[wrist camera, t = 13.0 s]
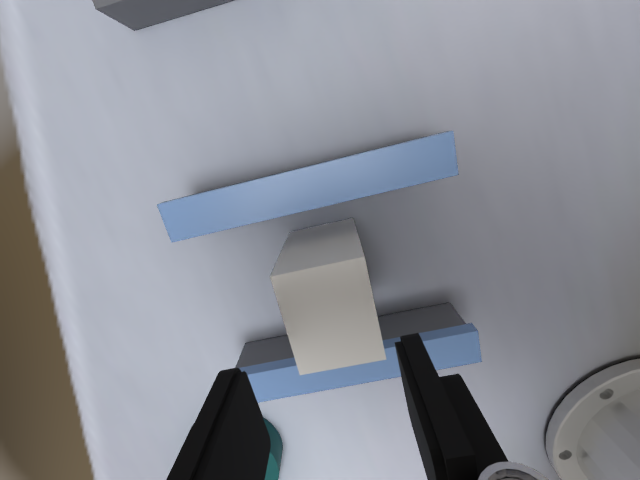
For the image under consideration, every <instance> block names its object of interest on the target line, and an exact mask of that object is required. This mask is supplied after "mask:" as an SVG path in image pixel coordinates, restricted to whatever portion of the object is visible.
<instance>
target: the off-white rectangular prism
mask: <svg viewBox="0 0 640 480" xmlns="http://www.w3.org/2000/svg"><path fill="white" fill-rule="evenodd" d="M270 279H271V282H272V285H273V289H274V292H275V295H276V298H277V302H278V305H279V308H280V312H281V315H282V318H283V322H284V325H285V328H286V331H287V335H288V338H289V341H290V345H291V348H292V351H293V354H294V358H295V361H296V364H297V368H298V371H299V374H300V375H304V374H310V373H315V372H321V371H326V370H332V369H337V368H343V367H348V366H354V365H359V364H365V363H370V362H376V361H381V360H386V355H385V350H384V346H383V341H382V336H381V331H380V327H379V322H378V317H377V312H376V308H375V303H374V298H373V294H372V289H371V284H370V279H369V275H368V270H367V265H366V261H365V256H364V253H363V249H362V246H361V243H360V239H359V236H358V233H357V229H356V226H355V223H354V219H353V218H350V219H345V220H341V221H336V222H332V223H327V224H323V225H318V226H314V227H309V228H305V229H301V230H296V231H292V232H289V234H288V237H287V239H286V241H285V243H284V246H283V248H282V250H281V253H280V255H279V257H278V259H277V262H276V264H275V266H274V269H273V271H272V273H271V275H270Z"/></svg>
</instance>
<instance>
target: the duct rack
mask: <svg viewBox="0 0 640 480" xmlns="http://www.w3.org/2000/svg"><path fill="white" fill-rule="evenodd" d="M92 1H93V3H94V6H95V9H97V10H98V11H100V12H102V13H104V14H105V15H107V16H109V17H111V18H113V19H114V20H116V21H118V22H120V23H122V24H123V25H125V26H127V27H129V28H130V29H132V30H134V31H135V30H138V29H141V28H145V27H148V26H151V25H154V24H158V23H161V22H164V21H168V20H171V19H174V18H177V17H181V16H184V15H187V14H190V13H194V12H197V11H200V10H204V9H207V8H210V7H213V6H217V5H220V4H223V3H227V2H230V1H233V0H92ZM456 175H459V174H458V166H457V158H456V149H455V141H454V133H453V131H446V132H442V133H438V134H434V135H430V136H426V137H422V138H418V139H414V140H410V141H406V142H402V143H398V144H394V145H390V146H386V147H382V148H378V149H374V150H370V151H366V152H362V153H358V154H354V155H350V156H346V157H342V158H338V159H334V160H330V161H326V162H322V163H318V164H314V165H310V166H306V167H302V168H298V169H294V170H290V171H286V172H282V173H278V174H274V175H270V176H266V177H262V178H258V179H254V180H250V181H246V182H242V183H238V184H234V185H230V186H226V187H222V188H218V189H214V190H210V191H206V192H202V193H198V194H194V195H190V196H186V197H182V198H178V199H174V200H170V201H166V202H163V203H160V204H157V206H158V209H159V212H160V214H161V217H162V219H163V222H164V224H165V227H166V230H167V232H168V235H169V237H170V240H171V242H176V241H180V240H185V239H189V238H193V237H197V236H201V235H206V234H210V233H214V232H218V231H223V230H227V229H231V228H235V227H240V226H244V225H248V224H252V223H257V222H261V221H265V220H269V219H274V218H278V217H282V216H286V215H290V214H295V213H299V212H303V211H307V210H312V209H316V208H320V207H324V206H329V205H333V204H337V203H341V202H346V201H350V200H354V199H358V198H362V197H367V196H371V195H375V194H379V193H384V192H388V191H392V190H396V189H401V188H405V187H409V186H413V185H418V184H422V183H426V182H430V181H435V180H439V179H443V178H447V177H451V176H456ZM378 322H379V327H380V331H381V336H382V341H383V346H384V350H385V355H386V360H381V361H376V362H370V363H365V364H359V365H354V366H348V367H343V368H337V369H332V370H326V371H321V372H315V373H310V374H304V375H300V374H299V371H298V368H297V364H296V361H295V358H294V354H293V351H292V348H291V345H290V341H289V338H288V335H285V336H280V337H275V338H270V339H265V340H260V341H255V342H250V343H245V346H244V348H243V350H242V353H241V355H240V358H239V360H238V363H237V365H236V367H235V368H239V369H240V370H241V372H243V371H245V372H246V373H247V375H248V378H249V381H250V383H251V386H252V389H253V392H254V394H255V397H256V400H257V403H258V402H263V401H269V400H274V399H280V398H285V397H291V396H296V395H302V394H307V393H313V392H318V391H324V390H329V389H335V388H340V387H346V386H351V385H357V384H362V383H368V382H373V381H379V380H384V379H390V378H395V377H401V372H400V367H399V363H398V358H397V353H396V348H395V342H399V341H401V339H400V336H404V335H409V334H414V333H419V335H420V337H421V339H422V341H423V343H424V346H425V348H426V350H427V352H428V354H429V356H430V359H431V361H432V363H433V365H434V367H435V369H436V370H440V369H445V368H451V367H456V366H462V365H467V364H473V363H478V362H482V360H481V352H480V344H479V336H478V330H477V329H476V328H475V327H474V325H473V324H472V323H469V324H466V323H465V322H464V321H463V319H462V318H461V317H460V315H459V314H458V313H457V311H456V310H455V308H454V307H453V306H452V304H451V303H445V304H440V305H435V306H430V307H425V308H420V309H415V310H410V311H405V312H400V313H395V314H390V315H385V316H380V317H378Z"/></svg>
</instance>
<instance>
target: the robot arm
mask: <svg viewBox="0 0 640 480" xmlns="http://www.w3.org/2000/svg"><path fill="white" fill-rule="evenodd" d="M400 339H401V341H399V342H395V348H396V353H397V358H398V363H399V367H400V372H401V377H402V382H403V387H404V392H405V396H406V401H407V406H408V411H409V415H410V419H411V423H412V427H413V430H414V434H415V437H416V441H417V444H418V448H419V451H420V455H421V458H422V461H423V465H424V468H425V472H426V475H427V479H428V480H549V479H548V478H546V477H545V476H543V475H542V474H541V473H539V472H538V471H536V470H535V469H532V468H530V467H528V466H526V465H523V464H520V463H514V462H509V461H508V460H507V458H506V456H505V454H504V452H503V451H502V449H501V447H500V445H499V443H498V442H497V440H496V438H495V436H494V434H493V433H492V431H491V429H490V427H489V425H488V424H487V422H486V420H485V418H484V416H483V415H482V413H481V411H480V409H479V407H478V406H477V404H476V402H475V400H474V399H473V397H472V395H471V393H470V391H469V390H468V388H467V386H466V384H465V382H464V381H463V379H462V377H461V376H460V375H459V374H454V375H448V376H443V377H439V376H438V374H437V372H436V369H435V367H434V365H433V363H432V361H431V359H430V356H429V354H428V352H427V350H426V348H425V346H424V343H423V341H422V339H421V337H420V335H419V333H414V334H409V335H404V336H400ZM270 448H271V441H270V436H269V433H268V430H267V427H266V425H265V422H264V419H263V416H262V414H261V411H260V408H259V405H258V403H257V400H256V397H255V394H254V392H253V389H252V386H251V383H250V381H249V378H248V375H247V373H246V372H245V371H243V372H241V370H240V369H239V368H233V369H228V370H222V371H220V372H219V373H218V375H217V377H216V379H215V381H214V384H213V386H212V388H211V390H210V392H209V394H208V396H207V398H206V400H205V402H204V404H203V407H202V409H201V411H200V413H199V415H198V417H197V419H196V421H195V423H194V424H193V426H192V428H191V430H190V432H189V434H188V436H187V438H186V440H185V442H184V444H183V446H182V448H181V450H180V453H179V455H178V457H177V459H176V461H175V463H174V465H173V467H172V469H171V471H170V473H169V475H168V477H167V480H265V475H266V470H267V465H268V460H269V454H270ZM546 451H547V455H548V458H549V461H550V463H551V464H552V466H553V468H554V470H555V471H556V473H557V474H558V476H559V477H560V478H561V480H640V359H634V360H629V361H626V362H623V363H619V364H616V365H613V366H610V367H608V368H606V369H604V370H602V371H600V372H598V373H596V374H594V375H592V376H591V377H589V378H588V379H586V380H585V381H583V382H582V383H580V384H579V385H578V386H577V387H575V388H574V389H573V390H572V391H571V392H570V393H569V394H568V395H567V396H566V397H565V398H564V399H563V401H562V402H561V403H560V405H559V406H558V407H557V409H556V410H555V412H554V414H553V416H552V418H551V420H550V422H549V426H548V430H547V434H546Z"/></svg>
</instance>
